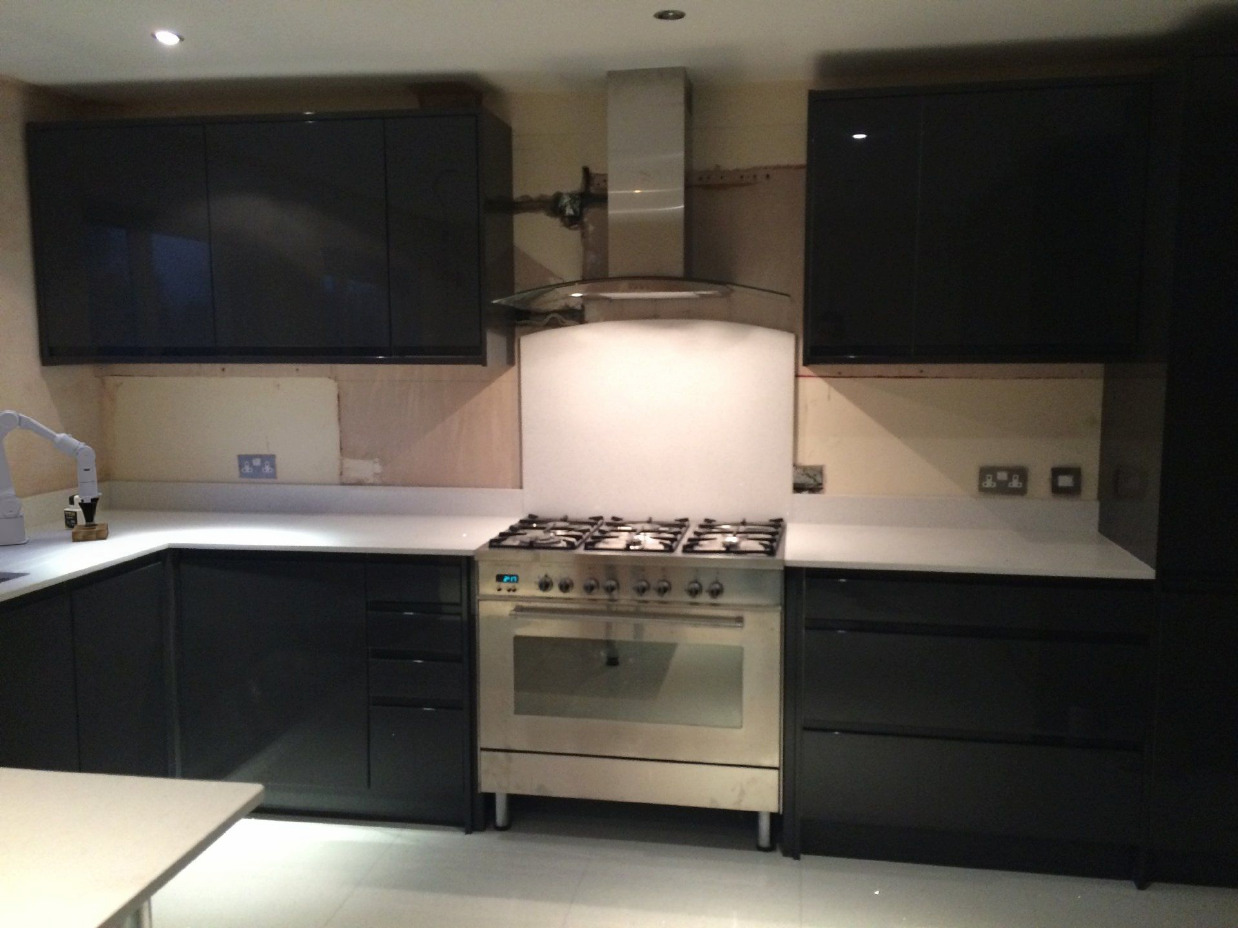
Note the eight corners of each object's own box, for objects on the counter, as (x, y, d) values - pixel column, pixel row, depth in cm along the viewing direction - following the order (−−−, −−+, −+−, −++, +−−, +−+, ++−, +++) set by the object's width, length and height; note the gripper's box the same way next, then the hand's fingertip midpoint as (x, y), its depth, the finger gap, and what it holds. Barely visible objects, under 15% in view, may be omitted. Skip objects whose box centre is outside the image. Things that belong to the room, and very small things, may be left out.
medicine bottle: (65, 528, 360) (62, 495, 358) (83, 525, 366) (81, 492, 364) (77, 530, 356) (75, 496, 355) (96, 526, 363) (93, 494, 361)
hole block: (72, 542, 334) (71, 531, 333) (76, 535, 347) (75, 525, 346) (105, 539, 338) (105, 529, 337) (108, 532, 350) (107, 522, 350)
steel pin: (86, 535, 343) (84, 512, 342) (85, 533, 346) (83, 511, 345) (96, 534, 345) (94, 511, 344) (95, 532, 347) (93, 510, 346)
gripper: (99, 483, 338) (102, 522, 340) (102, 478, 351) (104, 516, 353) (75, 484, 335) (78, 524, 337) (79, 479, 349) (82, 518, 350)
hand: (90, 520), depth 345 cm, fingers open, 7 cm apart
